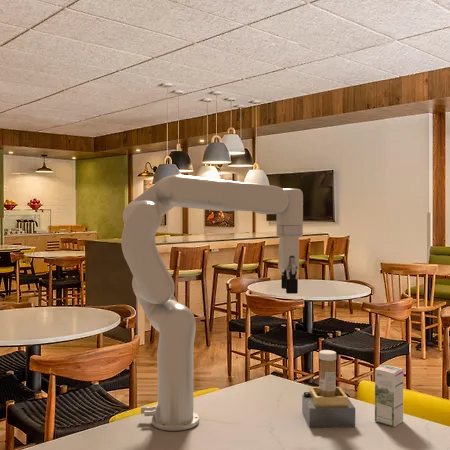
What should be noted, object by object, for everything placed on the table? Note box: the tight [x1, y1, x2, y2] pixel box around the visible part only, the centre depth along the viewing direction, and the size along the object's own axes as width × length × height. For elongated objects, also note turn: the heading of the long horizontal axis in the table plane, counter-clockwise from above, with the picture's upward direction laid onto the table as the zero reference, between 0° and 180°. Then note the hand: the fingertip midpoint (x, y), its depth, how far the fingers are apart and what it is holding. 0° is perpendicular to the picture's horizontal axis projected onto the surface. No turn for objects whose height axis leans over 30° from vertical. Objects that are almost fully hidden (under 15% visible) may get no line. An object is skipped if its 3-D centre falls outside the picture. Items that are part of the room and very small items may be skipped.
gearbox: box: [301, 386, 356, 429], centre depth 148 cm, size 12×11×8 cm
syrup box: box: [374, 364, 404, 428], centre depth 146 cm, size 6×6×14 cm
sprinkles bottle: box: [318, 349, 337, 396], centre depth 148 cm, size 5×5×14 cm
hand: (289, 290), depth 158 cm, fingers open, 9 cm apart
